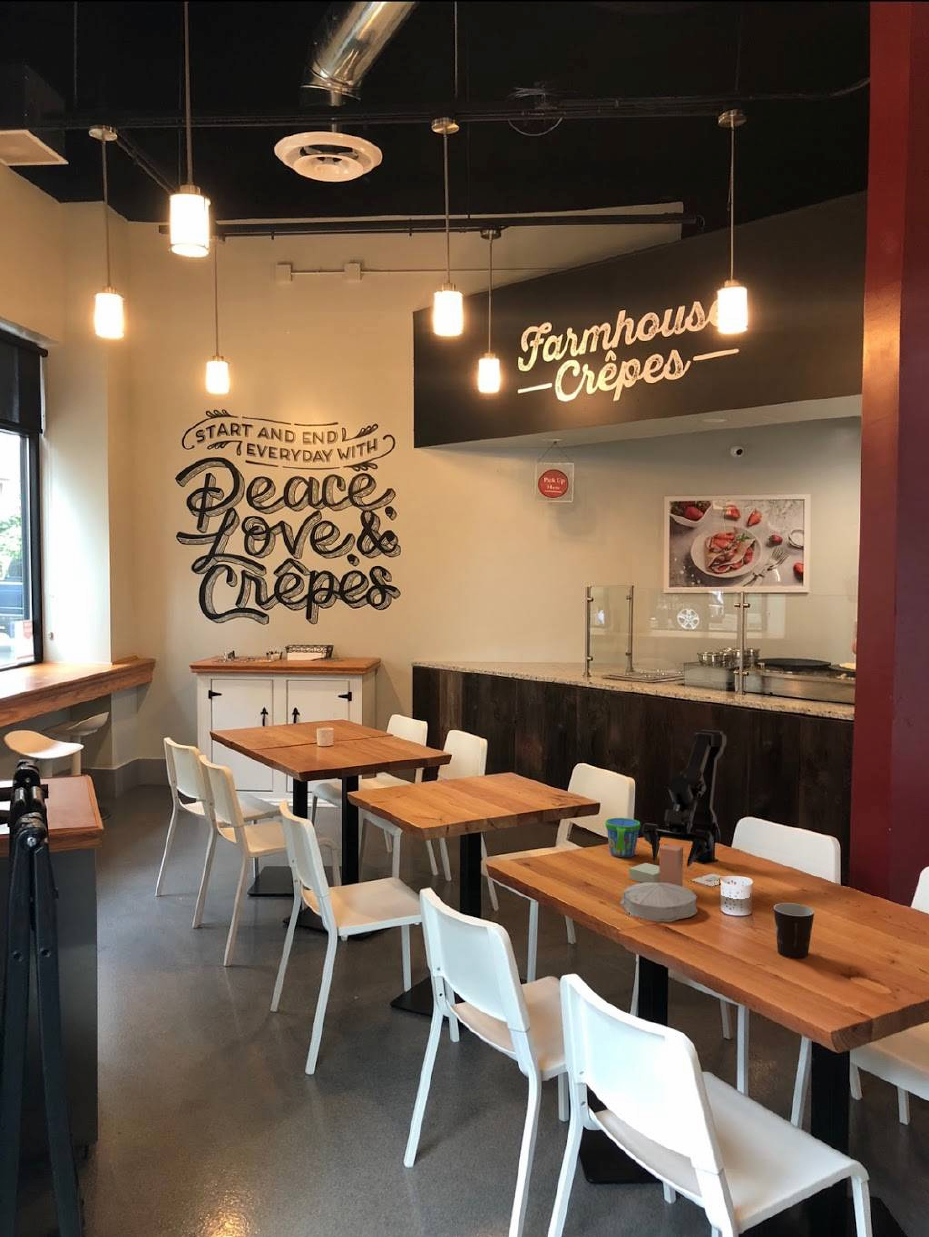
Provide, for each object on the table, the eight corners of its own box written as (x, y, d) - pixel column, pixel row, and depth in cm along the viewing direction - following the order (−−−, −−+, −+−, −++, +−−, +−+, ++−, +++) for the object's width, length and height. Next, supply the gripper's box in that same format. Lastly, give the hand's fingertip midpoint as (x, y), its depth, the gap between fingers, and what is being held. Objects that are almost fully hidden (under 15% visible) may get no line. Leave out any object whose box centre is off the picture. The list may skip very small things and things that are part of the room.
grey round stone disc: (714, 920, 239) (715, 892, 239) (642, 926, 233) (643, 898, 233) (673, 895, 258) (674, 870, 258) (605, 900, 252) (606, 875, 252)
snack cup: (635, 863, 285) (635, 829, 284) (599, 859, 288) (600, 825, 288) (643, 850, 299) (644, 817, 299) (610, 846, 303) (610, 814, 303)
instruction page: (712, 874, 275) (712, 873, 275) (733, 880, 270) (733, 879, 270) (690, 880, 269) (690, 879, 269) (711, 886, 263) (711, 885, 263)
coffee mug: (781, 943, 222) (782, 900, 222) (818, 952, 216) (819, 908, 216) (761, 957, 213) (762, 913, 213) (799, 968, 207) (801, 922, 207)
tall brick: (664, 887, 262) (665, 843, 262) (682, 890, 260) (683, 846, 260) (658, 892, 258) (659, 848, 258) (677, 895, 256) (678, 850, 255)
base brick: (645, 873, 275) (645, 862, 275) (669, 879, 269) (669, 868, 269) (629, 878, 270) (629, 868, 269) (653, 885, 264) (653, 874, 264)
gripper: (644, 793, 267) (631, 842, 258) (711, 801, 258) (700, 851, 249) (652, 816, 274) (639, 864, 265) (718, 825, 265) (707, 874, 256)
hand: (670, 863), depth 258 cm, fingers open, 9 cm apart
